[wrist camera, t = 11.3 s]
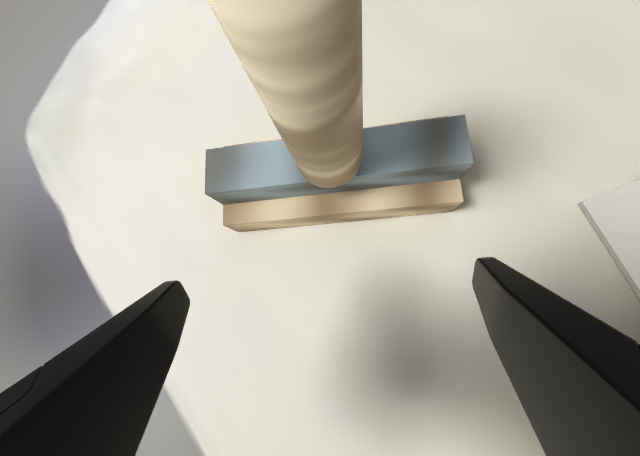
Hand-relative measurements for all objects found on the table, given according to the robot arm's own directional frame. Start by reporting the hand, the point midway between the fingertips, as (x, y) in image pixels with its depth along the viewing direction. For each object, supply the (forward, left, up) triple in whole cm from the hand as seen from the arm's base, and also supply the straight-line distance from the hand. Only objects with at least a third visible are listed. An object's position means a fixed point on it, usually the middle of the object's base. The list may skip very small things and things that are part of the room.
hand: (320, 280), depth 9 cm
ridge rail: (+7, +2, -12) cm, 15 cm away
